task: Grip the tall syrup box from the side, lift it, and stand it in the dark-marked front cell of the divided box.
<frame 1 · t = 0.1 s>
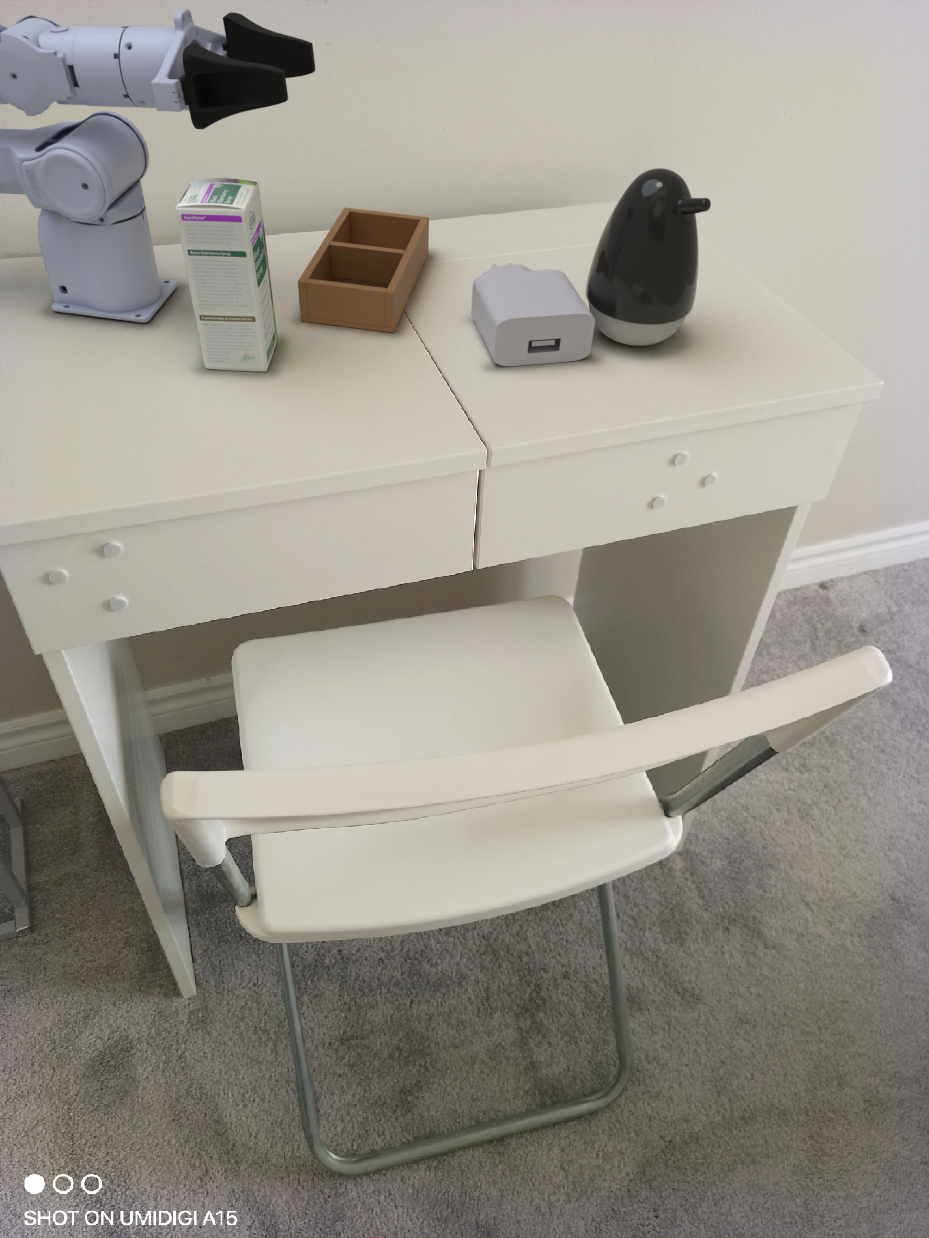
hand: (299, 71, 75), 22 cm above the table, tool horizontal, fingers open, 7 cm apart
pump dispenser: (632, 335, 92), on the table
charger: (519, 326, 93), on the table
syrup box: (241, 357, 86), on the table
divided box: (368, 285, 96), on the table
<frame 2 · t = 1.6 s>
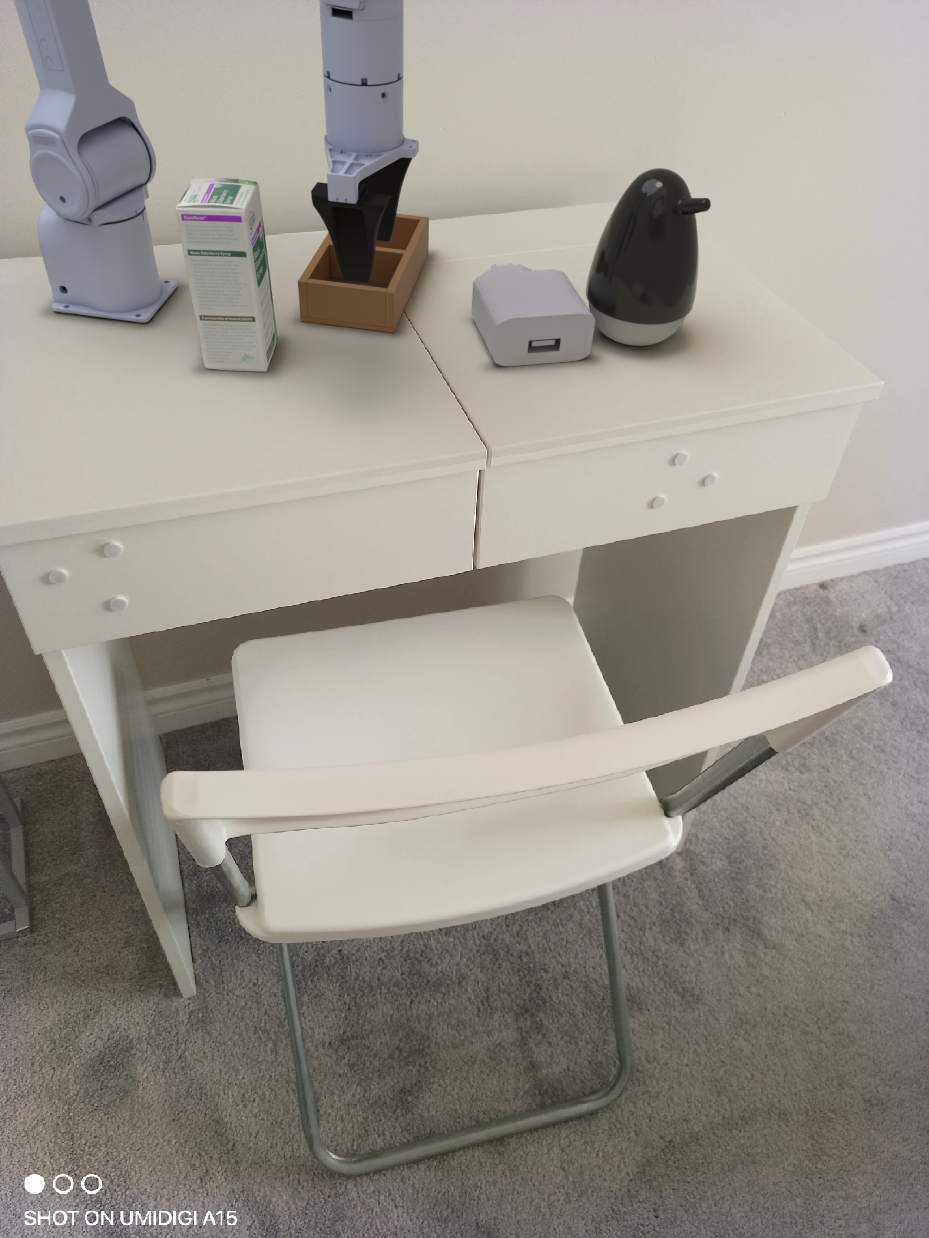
hand: (367, 258, 78), 10 cm above the table, tool pointing down, fingers open, 7 cm apart
nothing on the table moved.
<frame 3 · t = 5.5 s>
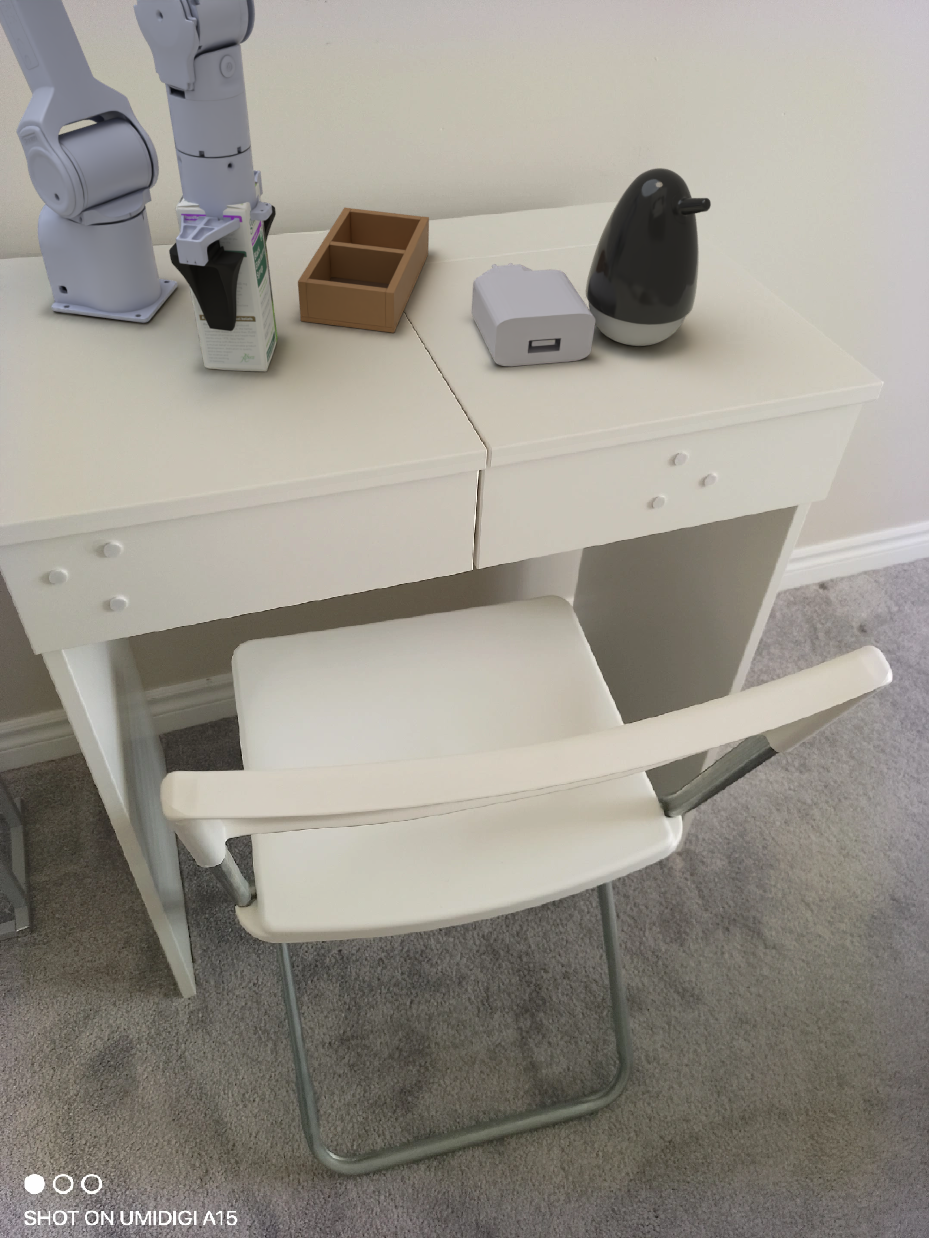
hand: (234, 309, 83), 4 cm above the table, tool pointing down, fingers closed on syrup box, 6 cm apart
syrup box: (241, 356, 86), on the table, touching gripper
everything else where it was.
when the fingers open (5 cm above the table, at t = 10.4 s): syrup box stays where it is, resting on divided box.
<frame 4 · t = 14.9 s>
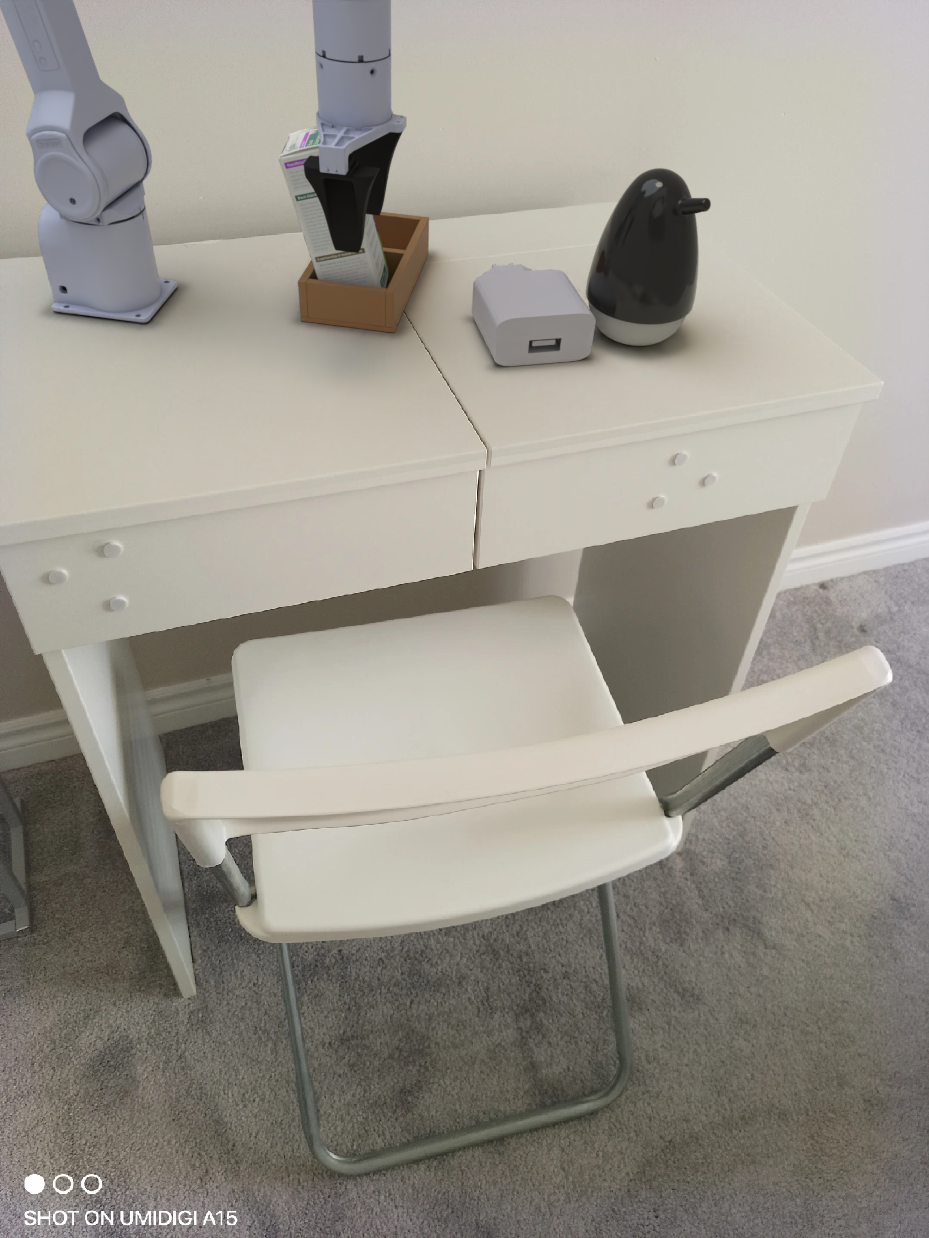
hand: (358, 231, 81), 10 cm above the table, tool pointing down, fingers open, 7 cm apart
syrup box: (358, 293, 93), point 1 cm above the table, touching divided box, gripper
everything else where it was.
at the end: syrup box 0.0 cm from the target spot in the divided box, point 1.2 cm above the divided box's base; syrup box tilted 14°; the gripper is holding nothing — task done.
